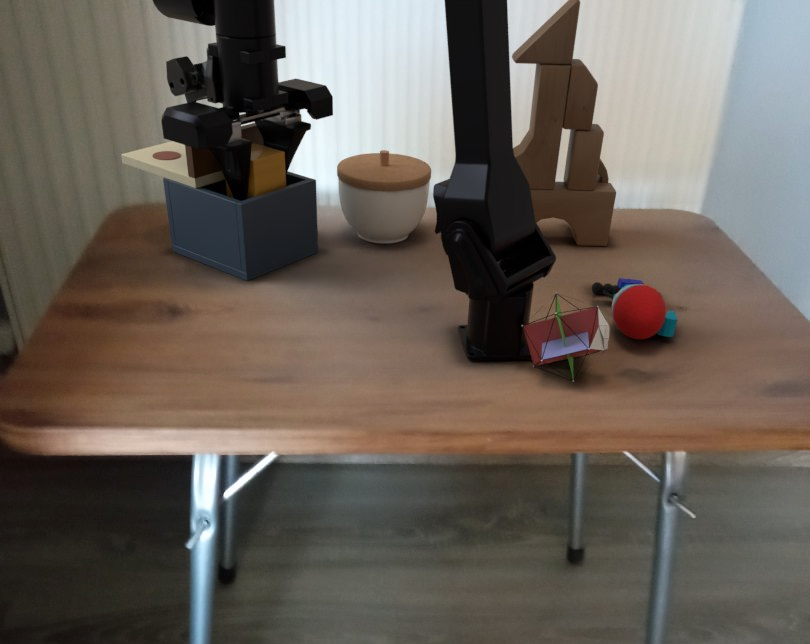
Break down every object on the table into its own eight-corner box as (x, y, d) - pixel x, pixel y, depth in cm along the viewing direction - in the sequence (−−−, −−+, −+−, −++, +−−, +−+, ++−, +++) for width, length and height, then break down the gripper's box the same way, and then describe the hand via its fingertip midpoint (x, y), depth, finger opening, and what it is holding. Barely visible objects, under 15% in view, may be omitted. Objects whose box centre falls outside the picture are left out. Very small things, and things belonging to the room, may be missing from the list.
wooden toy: (596, 226, 111) (635, -8, 95) (607, 246, 106) (651, 2, 90) (472, 223, 110) (491, -13, 94) (477, 243, 105) (498, -3, 89)
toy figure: (582, 303, 97) (602, 344, 84) (593, 256, 94) (615, 291, 81) (651, 312, 97) (682, 355, 84) (663, 266, 94) (697, 302, 81)
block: (287, 209, 97) (284, 151, 93) (257, 220, 94) (253, 160, 90) (258, 200, 99) (254, 142, 95) (228, 210, 96) (222, 151, 92)
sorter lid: (271, 165, 99) (269, 122, 97) (195, 188, 93) (190, 142, 90) (198, 143, 105) (194, 101, 102) (122, 163, 98) (115, 119, 95)
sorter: (318, 252, 101) (316, 179, 96) (247, 281, 95) (241, 204, 90) (244, 225, 107) (238, 155, 102) (172, 251, 100) (162, 177, 95)
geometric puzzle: (502, 360, 78) (568, 295, 74) (506, 325, 83) (568, 263, 79) (561, 409, 80) (629, 350, 76) (561, 372, 86) (624, 315, 81)
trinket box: (427, 253, 102) (432, 168, 96) (334, 249, 102) (332, 163, 96) (427, 220, 111) (432, 140, 105) (341, 216, 110) (340, 136, 105)
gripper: (257, 11, 95) (266, 163, 105) (112, 33, 84) (138, 202, 93) (335, 26, 90) (337, 185, 100) (192, 51, 78) (211, 228, 88)
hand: (257, 198), depth 96 cm, fingers closed on block, 4 cm apart
